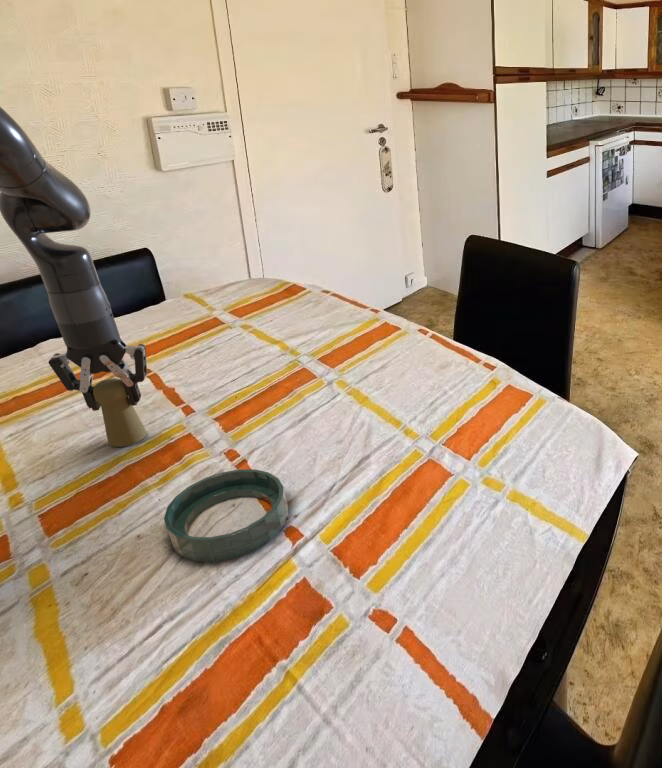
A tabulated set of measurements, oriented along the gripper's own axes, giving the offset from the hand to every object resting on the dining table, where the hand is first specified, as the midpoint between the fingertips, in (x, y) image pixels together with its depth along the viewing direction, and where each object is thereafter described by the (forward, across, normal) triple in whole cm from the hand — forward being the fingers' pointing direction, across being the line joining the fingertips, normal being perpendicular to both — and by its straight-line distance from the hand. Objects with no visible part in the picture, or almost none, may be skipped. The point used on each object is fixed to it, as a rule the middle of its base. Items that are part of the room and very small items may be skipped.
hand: (116, 405), depth 106 cm
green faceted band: (+7, +20, -31) cm, 38 cm away
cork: (+7, 0, 0) cm, 7 cm away
